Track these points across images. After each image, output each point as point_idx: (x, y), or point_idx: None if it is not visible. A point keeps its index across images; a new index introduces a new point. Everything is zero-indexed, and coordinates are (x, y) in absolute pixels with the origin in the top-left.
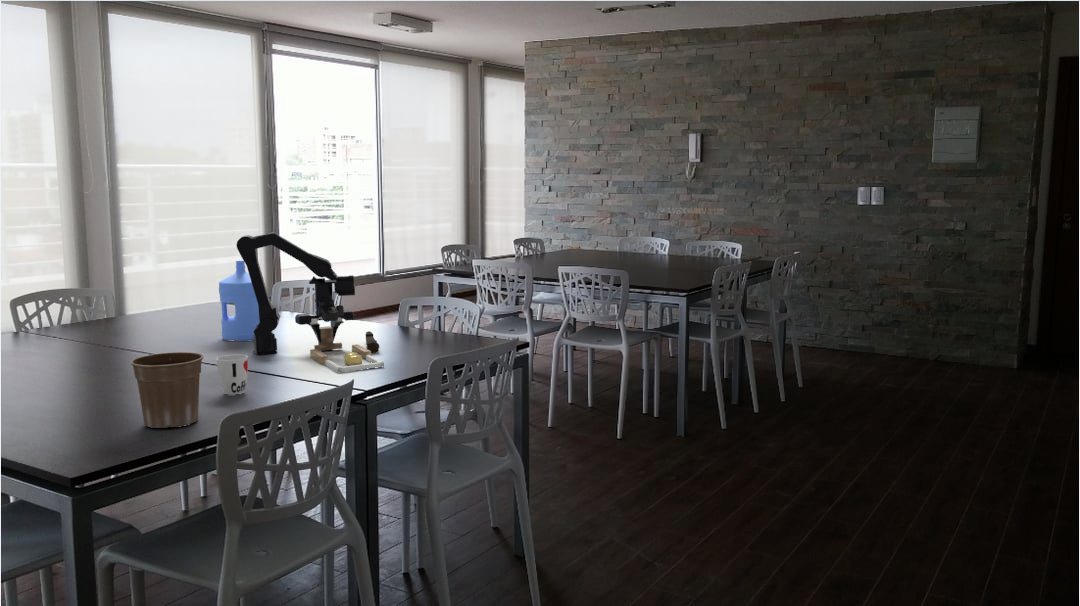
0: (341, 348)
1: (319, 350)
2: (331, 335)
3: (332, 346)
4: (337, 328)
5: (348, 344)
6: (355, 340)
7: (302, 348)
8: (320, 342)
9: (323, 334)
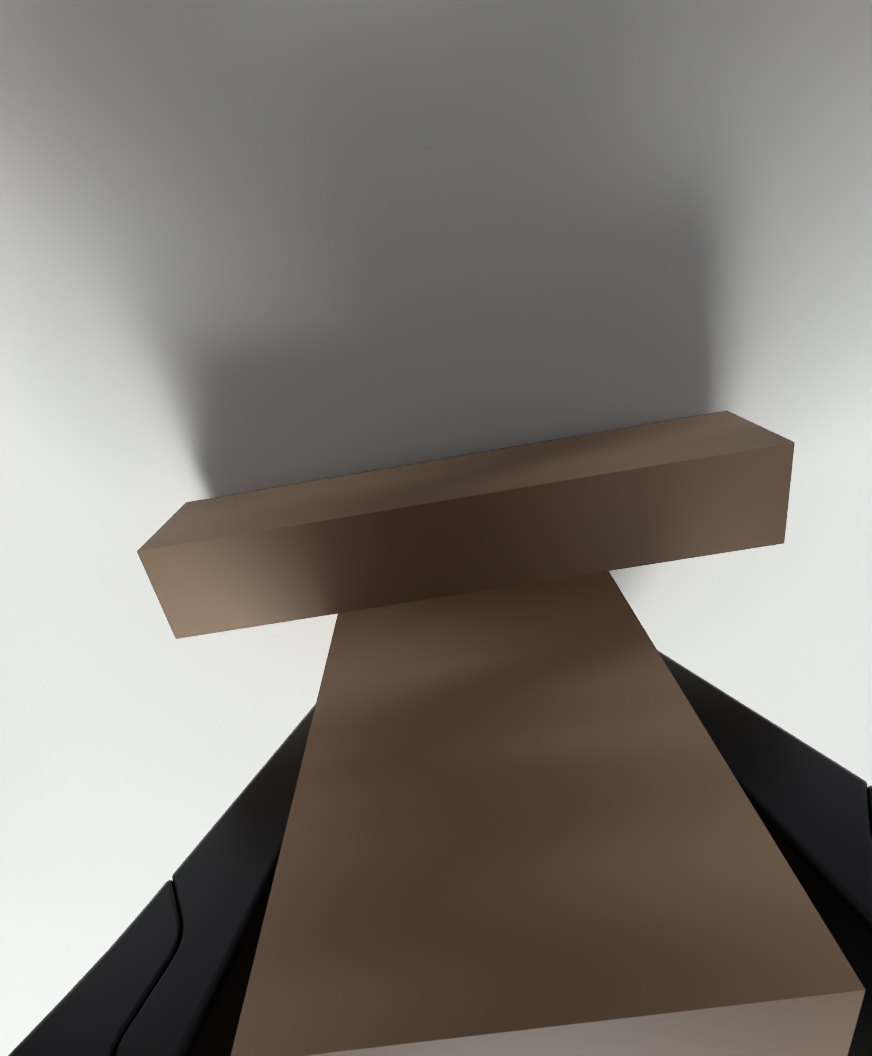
0: (200, 501)
1: (651, 428)
2: (352, 750)
3: (373, 491)
4: (31, 1045)
5: (123, 831)
6: (55, 983)
7: None
8: None
9: (632, 762)
